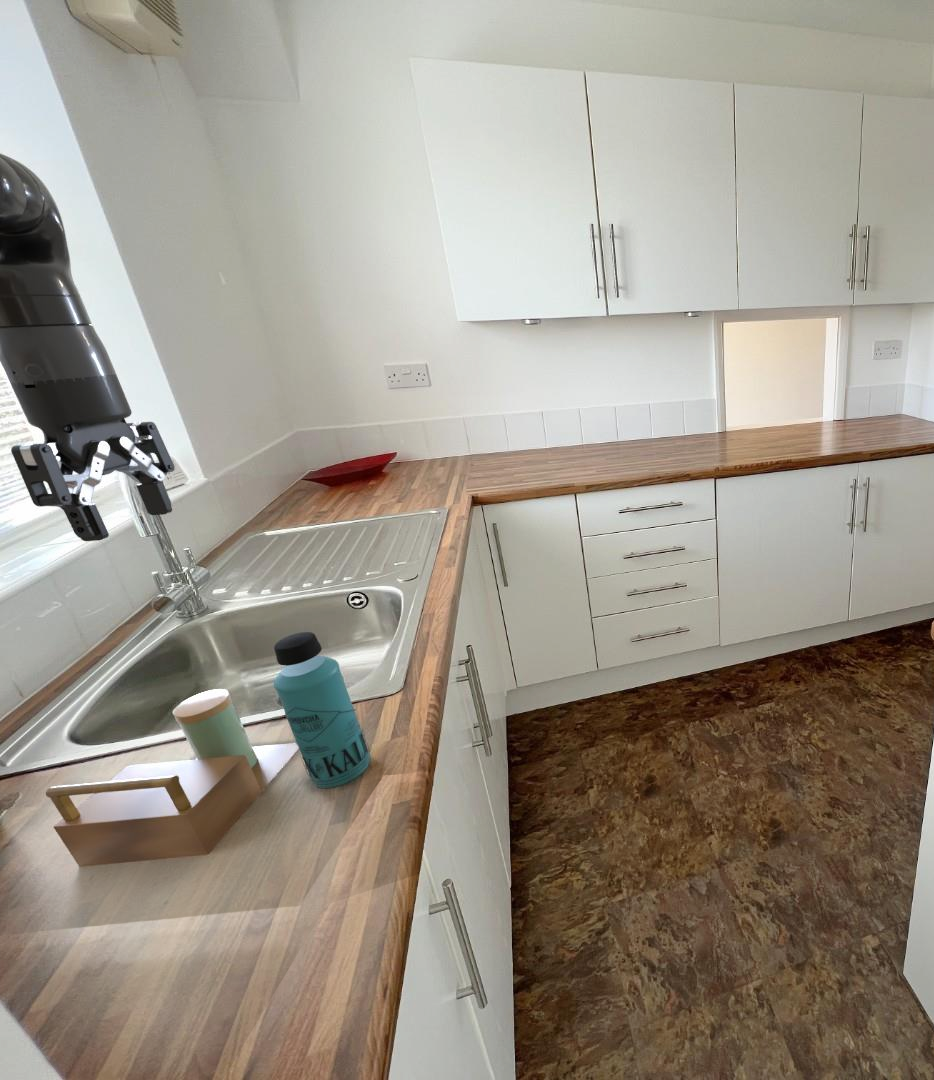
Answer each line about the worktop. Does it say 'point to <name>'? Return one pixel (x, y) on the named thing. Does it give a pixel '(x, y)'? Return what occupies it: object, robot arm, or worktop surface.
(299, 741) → the beverage bottle
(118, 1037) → the worktop surface
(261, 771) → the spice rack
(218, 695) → the spice jar
